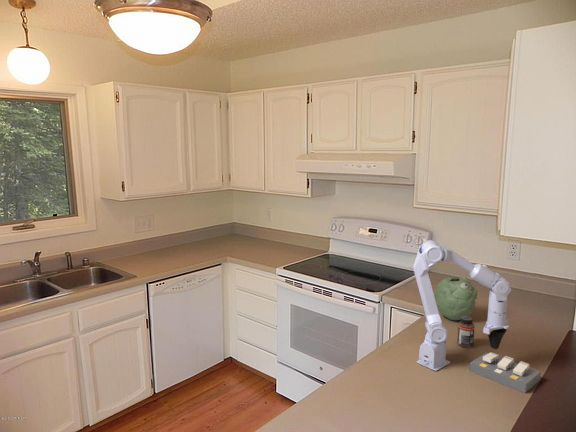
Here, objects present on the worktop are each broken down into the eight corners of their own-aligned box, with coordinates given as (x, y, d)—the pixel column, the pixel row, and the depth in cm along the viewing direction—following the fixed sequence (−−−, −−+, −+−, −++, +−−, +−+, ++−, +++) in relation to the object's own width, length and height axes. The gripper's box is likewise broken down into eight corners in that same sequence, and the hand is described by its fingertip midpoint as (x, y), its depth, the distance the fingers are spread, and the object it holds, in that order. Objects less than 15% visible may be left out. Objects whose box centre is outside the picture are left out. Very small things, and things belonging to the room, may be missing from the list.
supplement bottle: (459, 340, 168) (461, 313, 167) (475, 344, 165) (477, 317, 163) (454, 345, 164) (456, 318, 162) (470, 350, 160) (472, 322, 158)
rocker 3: (521, 376, 135) (521, 372, 134) (513, 372, 137) (513, 369, 136) (529, 367, 138) (529, 364, 138) (520, 364, 140) (520, 360, 140)
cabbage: (438, 309, 203) (440, 269, 200) (479, 318, 191) (482, 276, 188) (426, 319, 190) (428, 277, 187) (470, 329, 179) (473, 284, 176)
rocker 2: (505, 370, 138) (505, 366, 138) (497, 367, 141) (497, 363, 140) (513, 361, 142) (513, 358, 142) (505, 358, 144) (505, 355, 144)
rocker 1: (490, 362, 142) (490, 359, 142) (482, 359, 144) (482, 356, 144) (498, 358, 146) (498, 354, 146) (490, 355, 148) (490, 351, 148)
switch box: (525, 393, 131) (526, 378, 130) (469, 370, 145) (470, 357, 144) (540, 380, 138) (541, 366, 138) (485, 360, 152) (486, 347, 151)
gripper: (499, 319, 137) (496, 358, 139) (518, 309, 146) (515, 345, 148) (478, 313, 142) (475, 350, 144) (497, 303, 151) (495, 339, 153)
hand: (494, 347), depth 146 cm, fingers closed
